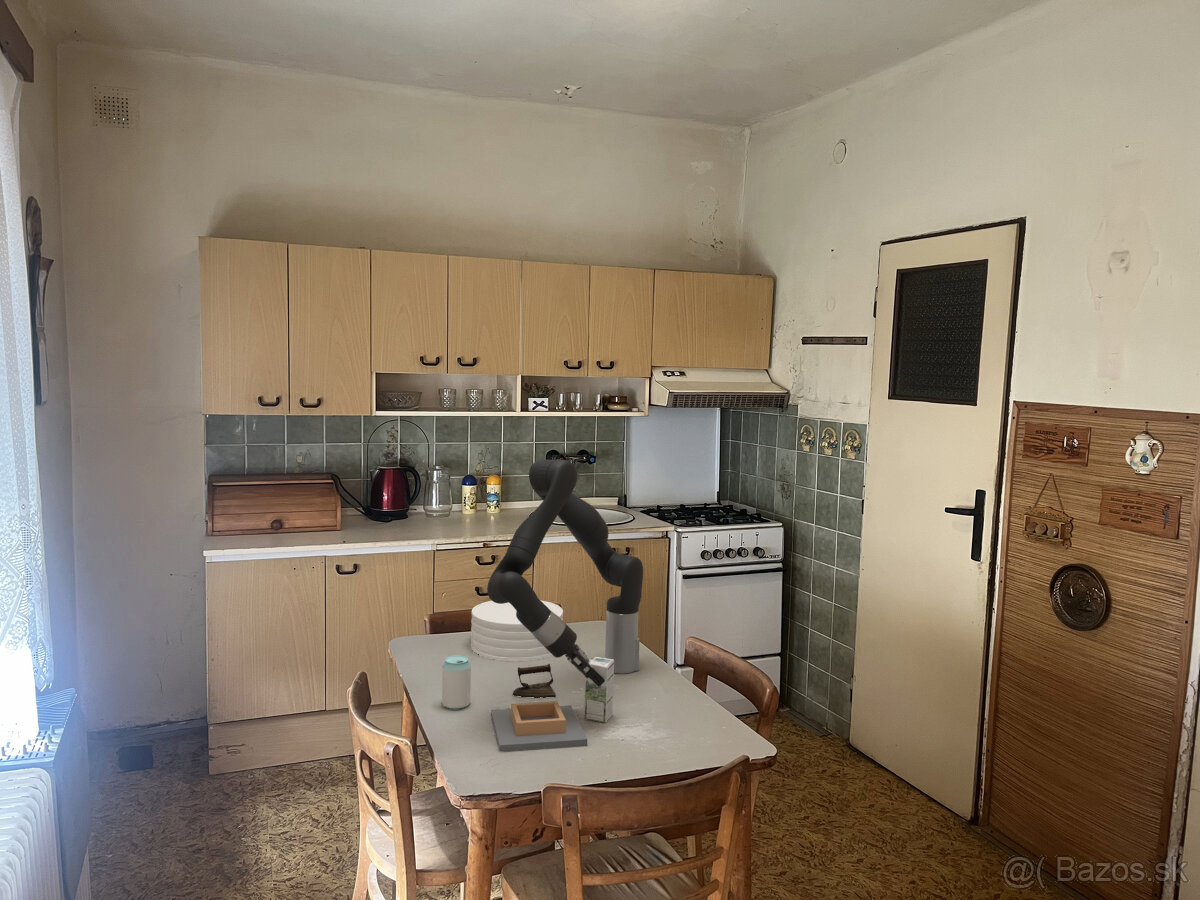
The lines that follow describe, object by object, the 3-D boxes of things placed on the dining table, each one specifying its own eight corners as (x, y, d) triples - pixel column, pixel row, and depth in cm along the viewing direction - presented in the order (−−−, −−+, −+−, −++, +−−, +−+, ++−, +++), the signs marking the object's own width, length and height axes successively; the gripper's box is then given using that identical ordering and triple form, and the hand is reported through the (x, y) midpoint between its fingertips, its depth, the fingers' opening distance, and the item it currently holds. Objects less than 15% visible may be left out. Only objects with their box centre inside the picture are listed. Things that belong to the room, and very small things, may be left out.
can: (474, 701, 216) (474, 655, 215) (464, 712, 209) (465, 665, 208) (448, 698, 217) (449, 653, 216) (437, 708, 210) (438, 662, 209)
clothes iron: (559, 698, 221) (551, 664, 218) (517, 711, 218) (509, 677, 216) (553, 686, 227) (546, 653, 225) (512, 699, 225) (504, 665, 222)
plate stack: (485, 630, 276) (485, 595, 275) (569, 636, 272) (570, 601, 271) (459, 658, 248) (459, 620, 247) (552, 665, 245) (553, 627, 244)
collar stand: (570, 710, 212) (571, 693, 211) (587, 745, 192) (587, 726, 192) (490, 715, 207) (491, 698, 207) (499, 751, 188) (499, 732, 187)
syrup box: (613, 714, 210) (615, 658, 209) (605, 724, 204) (607, 665, 203) (591, 711, 212) (593, 655, 210) (583, 720, 206) (585, 662, 205)
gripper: (569, 631, 197) (615, 676, 201) (559, 614, 211) (602, 656, 214) (546, 654, 196) (593, 699, 200) (537, 635, 210) (581, 677, 214)
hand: (598, 677), depth 207 cm, fingers open, 8 cm apart
